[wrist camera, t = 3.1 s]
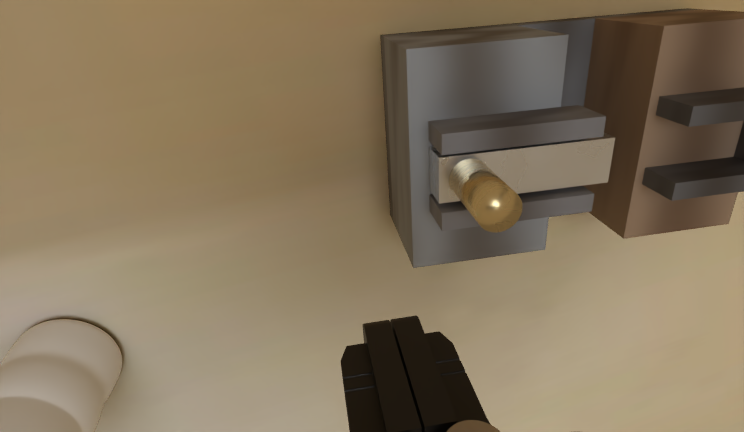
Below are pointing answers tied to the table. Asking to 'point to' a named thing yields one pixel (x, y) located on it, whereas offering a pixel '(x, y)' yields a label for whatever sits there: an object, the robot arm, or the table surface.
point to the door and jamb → (569, 122)
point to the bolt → (516, 175)
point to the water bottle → (58, 378)
